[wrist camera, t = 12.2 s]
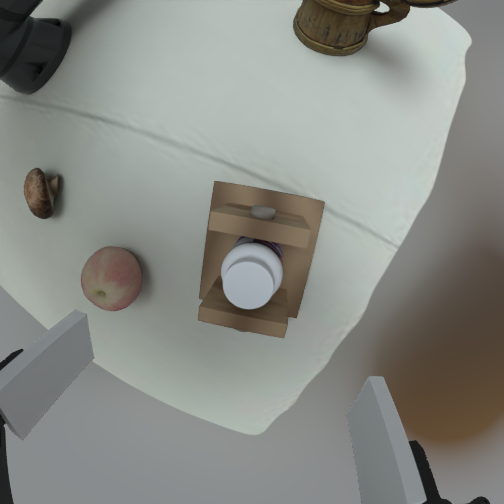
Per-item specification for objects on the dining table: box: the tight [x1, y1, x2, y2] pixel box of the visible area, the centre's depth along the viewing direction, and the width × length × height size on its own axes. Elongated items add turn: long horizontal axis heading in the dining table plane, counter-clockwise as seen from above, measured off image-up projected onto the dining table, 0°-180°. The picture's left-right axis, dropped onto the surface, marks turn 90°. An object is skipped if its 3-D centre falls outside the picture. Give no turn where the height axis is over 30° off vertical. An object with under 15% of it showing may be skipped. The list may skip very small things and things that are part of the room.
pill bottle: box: [221, 236, 283, 309], centre depth 25 cm, size 5×5×10 cm
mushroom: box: [24, 168, 58, 219], centre depth 30 cm, size 8×8×6 cm
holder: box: [198, 181, 325, 338], centre depth 27 cm, size 12×14×10 cm
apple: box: [81, 246, 142, 311], centre depth 30 cm, size 8×8×8 cm
